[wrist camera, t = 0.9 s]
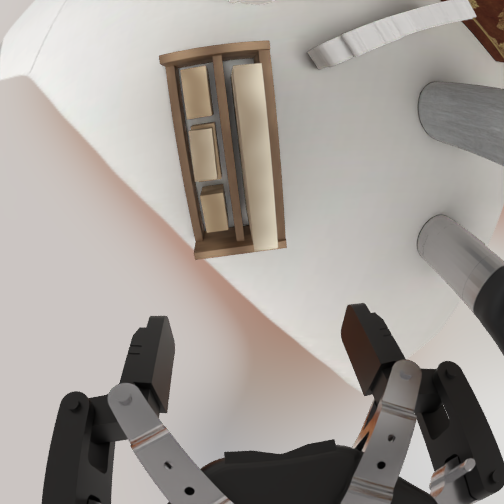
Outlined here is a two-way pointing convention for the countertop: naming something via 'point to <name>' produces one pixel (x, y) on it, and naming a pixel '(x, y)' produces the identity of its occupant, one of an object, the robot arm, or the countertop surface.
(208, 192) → the offcut
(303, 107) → the countertop surface
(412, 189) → the countertop surface
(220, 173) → the block
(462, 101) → the vase
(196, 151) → the upper offcut
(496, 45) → the decorative book
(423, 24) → the decorative sign
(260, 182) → the sheet
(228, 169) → the rack
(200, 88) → the offcut
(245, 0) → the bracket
